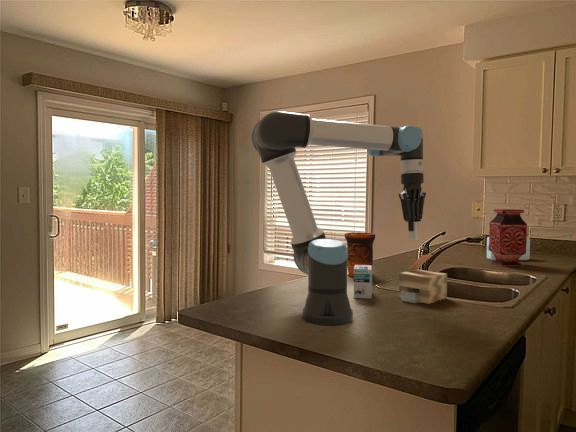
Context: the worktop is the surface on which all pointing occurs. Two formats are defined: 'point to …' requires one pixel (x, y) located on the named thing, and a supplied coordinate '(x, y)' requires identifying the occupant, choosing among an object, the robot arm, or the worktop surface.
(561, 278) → the worktop surface
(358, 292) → the light bulb box
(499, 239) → the vase
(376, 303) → the worktop surface
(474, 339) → the worktop surface
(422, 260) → the keeper tab
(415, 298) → the grey t-shaped bar
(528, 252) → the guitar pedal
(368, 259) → the vessel
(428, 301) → the block
